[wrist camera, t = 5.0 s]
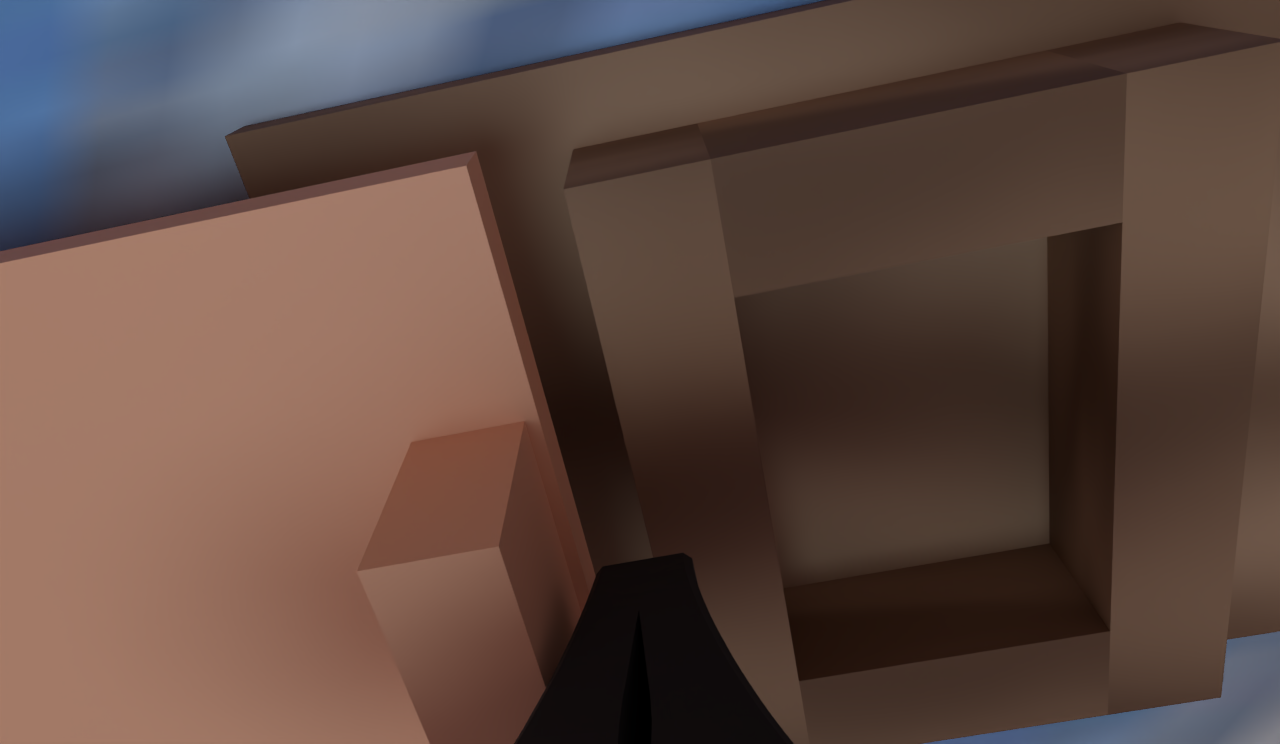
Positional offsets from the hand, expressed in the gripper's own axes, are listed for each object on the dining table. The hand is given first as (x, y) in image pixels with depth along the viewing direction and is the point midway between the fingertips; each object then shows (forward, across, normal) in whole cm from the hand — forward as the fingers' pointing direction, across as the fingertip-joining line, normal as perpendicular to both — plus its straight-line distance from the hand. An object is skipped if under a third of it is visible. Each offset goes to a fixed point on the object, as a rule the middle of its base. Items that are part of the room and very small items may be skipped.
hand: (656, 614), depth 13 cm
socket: (+5, -5, 0) cm, 7 cm away
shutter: (+2, +7, 0) cm, 7 cm away
